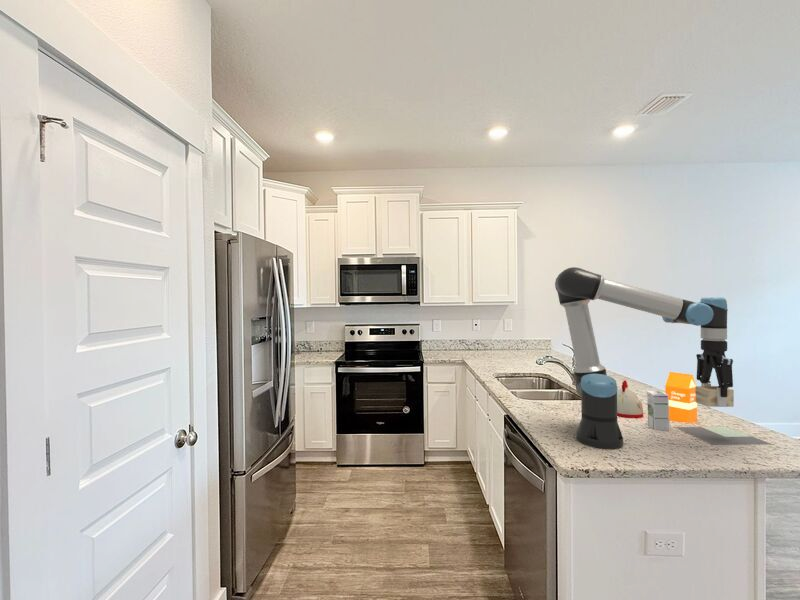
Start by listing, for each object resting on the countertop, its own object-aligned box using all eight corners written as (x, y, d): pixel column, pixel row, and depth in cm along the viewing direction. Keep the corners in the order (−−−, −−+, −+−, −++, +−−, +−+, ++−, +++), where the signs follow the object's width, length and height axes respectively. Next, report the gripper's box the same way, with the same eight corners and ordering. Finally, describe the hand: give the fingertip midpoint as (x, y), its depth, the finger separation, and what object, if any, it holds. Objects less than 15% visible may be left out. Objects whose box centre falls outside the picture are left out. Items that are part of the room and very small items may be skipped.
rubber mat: (712, 446, 134) (712, 444, 134) (673, 428, 153) (673, 426, 153) (772, 445, 134) (772, 443, 134) (726, 428, 153) (726, 426, 153)
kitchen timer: (604, 414, 173) (604, 381, 173) (611, 408, 183) (611, 376, 184) (640, 420, 164) (640, 385, 164) (645, 413, 174) (645, 380, 175)
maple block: (708, 406, 137) (708, 389, 137) (695, 402, 143) (695, 385, 143) (733, 406, 137) (733, 389, 137) (719, 402, 143) (719, 386, 143)
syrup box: (670, 431, 149) (669, 394, 149) (653, 430, 151) (652, 393, 151) (663, 427, 155) (662, 391, 155) (647, 426, 156) (646, 390, 156)
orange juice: (689, 424, 158) (688, 375, 158) (665, 419, 165) (664, 372, 165) (697, 421, 162) (696, 373, 162) (673, 416, 169) (673, 370, 170)
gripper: (747, 342, 130) (747, 410, 130) (703, 337, 149) (703, 396, 149) (725, 342, 130) (725, 410, 130) (684, 337, 149) (684, 396, 149)
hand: (714, 403), depth 140 cm, fingers closed on maple block, 6 cm apart
